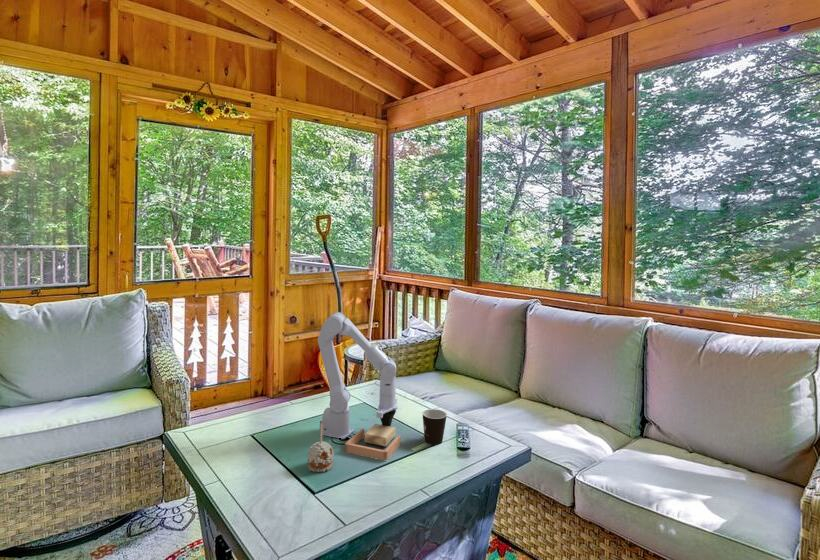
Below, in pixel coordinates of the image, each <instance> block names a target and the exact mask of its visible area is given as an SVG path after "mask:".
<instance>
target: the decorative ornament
mask: <svg viewBox="0 0 820 560" xmlns="http://www.w3.org/2000/svg"><path fill="white" fill-rule="evenodd" d="M322 425H323V421H322V419H320V421H319V441H316V442H315V443H312V445H311V446H310V448H308V451H307V461H308V463H307V468H308V470H309V471H312V472H317V473H319V472H320V473H321V472H325V471H329V470H331V469H333V466H334V455H335V454H334V449H333V446H332V445H331V444H330V443H328V442H326V441H323V435H322Z"/></svg>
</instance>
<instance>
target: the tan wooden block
mask: <svg viewBox="0 0 820 560" xmlns="http://www.w3.org/2000/svg"><path fill="white" fill-rule="evenodd" d="M396 430H397V428H396V427H394V426H391V427H390V426H385V425H382V424H379V423H374V424H373V425H372V426H371V427H370V428H369V429H368V430H367V431H366V432H364V443H365V444H366V445H370V444H373V445H377V446H381V447H382V448H384V447H385V448H387V447H388V444H390V443H391V441H392V440H395V437H397V435H396V434H397V433H396Z"/></svg>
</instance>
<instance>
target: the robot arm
mask: <svg viewBox="0 0 820 560" xmlns="http://www.w3.org/2000/svg"><path fill="white" fill-rule="evenodd" d="M339 333H340V336H347V337H349V338H350V339H351V340H353V341H354V343H356V344H357V345H358V346H359V347H360V348H361V349H362V350H363V352H364V357H365V358H366V359H367V360H368V361H369V362H370V363H371V364H372V366H373V367H375V368H376V369H377V370H379V375H380V381H379V397H378V398H379V404H378V407H377V408H378V409H377V411H376V418H378V419H380V421H381V425H385V426H390V427H392V426H391V425H392V422H393V419H394V417H395V414H396V412H397V410H398V409H399V406H398V399H396V390H397V388H396V386H397V384H396V383H397V381H396V379H397V364H396V362H395V360H394V359H393V358H391V357H390V356H387V355H386V353H385V352H384V351H383V348H382V347H381V346H378V345H377V344H371V343H370V341H369V340H368V339H367V338H366V336H365V335H363V333H362V332H361V331H360V330H359V329H358V327H356V326H355V324H354V323H353V322H352V321H351V319H350V318H348V317H346V315H345V314H344V313H343V312H340V311H334V312H332V313H331V314H330V315H329V316H328V317H327V319H326V320H325V321H324V322H323V323H322V325H321V329H320V332H319V333H318V334H319V335H318V338H317V344H318V348H319V351H320V354H321V358H322V362H323V363H322V364H323V367H324V371H325V373H326V379H327V381H328V386H329V399H330V400H329V403H328V405H329V407H326V408H325V409H324V411H323V413H322V418H321V420H322V421H323V425H322V436H325V437H330V438H335V439H339V438H341V439H340V440H345V439H346V438H348V436H350V435H351V434H352V433H354V431H355V429H352V428H351V427H350V421H351V418H350V417H351V408H350V406H349V404H348V403H349V402H350V399H351V393H350V392H349V390H348V388H346V387H347V386H346V384H345V383H344V381H343V378H342V374H341V369H340V365H339V361H338V358H337V354H336V349H335V346H334V342H333V340H334V338H335V337H336V335H338V334H339Z"/></svg>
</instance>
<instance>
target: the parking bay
mask: <svg viewBox="0 0 820 560" xmlns="http://www.w3.org/2000/svg"><path fill="white" fill-rule="evenodd" d="M363 437H364V438H365V429H364V428H360V430H359V431H358V432H356V433H355V434H354V435H353V436H352V437H351V438H350V439H348V441H346V442H345V443H344V453H345V452H348V453H347V454H350V453H353V454H352V455H354V454H357V455H356V456H359V455H362V456H361V457H364V456H367V457H366V458H368V457H373V458H377V459H376V460H378V459H382V460H387V459H388V458H389V459H390V457H391V456H393V454H394V453H395V452H396V451H397V449H398V448H399V447H400V446H401V445H400V444H401V443H402V442H401V441H402V436H401V435H396V438H394V439H393V441H392V442H390V443H389V445H387V446H386V449H384V450H383V449H378V448H374V447H370V446H365V445H360V444H359V443H358V442H359V441H360V440H361V439H362V438H363ZM364 438H363V439H364ZM363 439H362V440H363ZM362 440H361V441H362ZM361 441H360V442H361ZM399 445H400V446H399ZM398 446H399V447H398ZM394 451H395V452H394ZM393 452H394V453H393ZM392 453H393V454H392ZM373 458H372V459H373ZM389 459H388V460H389ZM382 460H381V461H382ZM388 460H387V461H388Z"/></svg>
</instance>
